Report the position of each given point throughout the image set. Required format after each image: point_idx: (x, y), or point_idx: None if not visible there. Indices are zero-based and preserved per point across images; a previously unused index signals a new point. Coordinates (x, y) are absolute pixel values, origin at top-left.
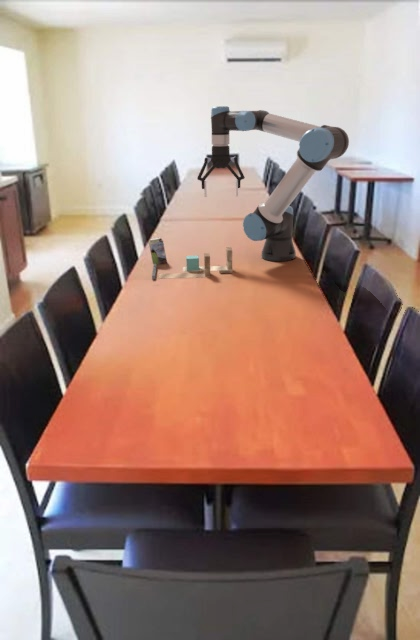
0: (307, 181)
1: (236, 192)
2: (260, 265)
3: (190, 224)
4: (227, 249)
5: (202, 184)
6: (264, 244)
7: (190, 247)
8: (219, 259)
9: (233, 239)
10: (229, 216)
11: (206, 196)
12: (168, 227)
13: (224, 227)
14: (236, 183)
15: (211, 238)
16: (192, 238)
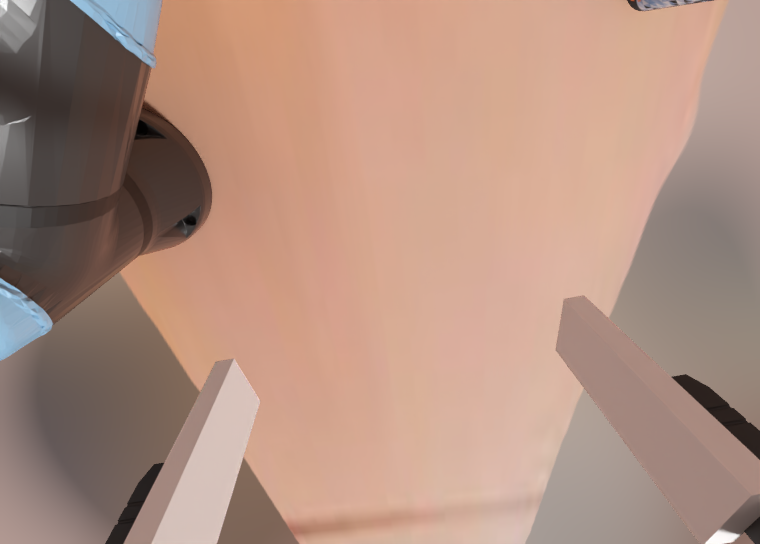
0: None
1: (213, 395)
2: None
3: (485, 483)
4: None
5: (753, 439)
6: (166, 183)
7: (491, 290)
8: (375, 123)
9: (362, 383)
10: (398, 534)
11: (568, 302)
12: (540, 459)
13: (401, 472)
14: (150, 529)
15: (427, 386)
16: (482, 382)
